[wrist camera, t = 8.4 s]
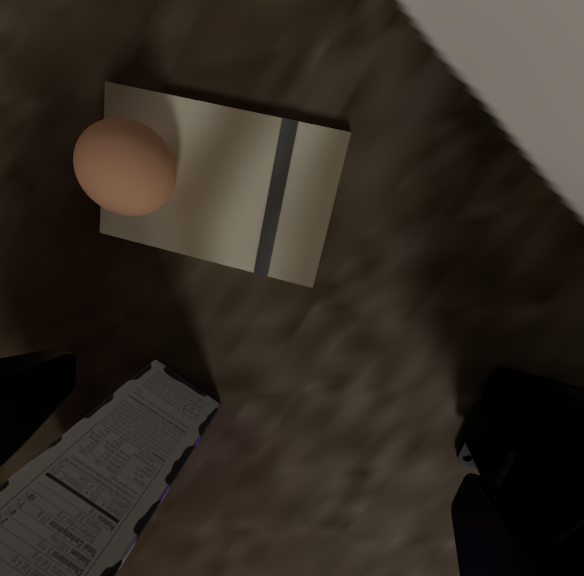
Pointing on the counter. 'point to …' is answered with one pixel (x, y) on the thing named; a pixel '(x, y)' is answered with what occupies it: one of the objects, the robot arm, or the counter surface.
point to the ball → (124, 166)
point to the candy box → (102, 479)
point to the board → (235, 184)
